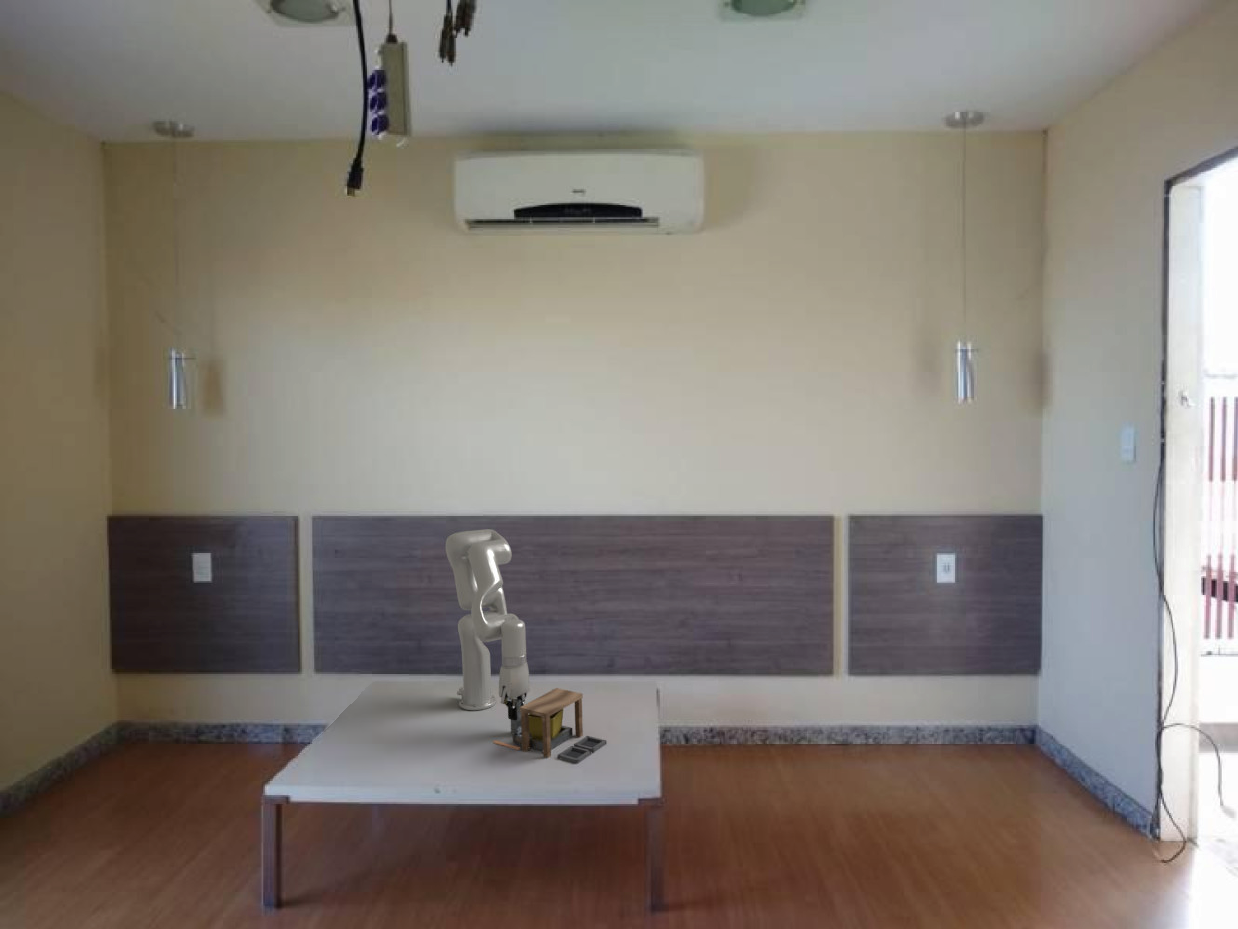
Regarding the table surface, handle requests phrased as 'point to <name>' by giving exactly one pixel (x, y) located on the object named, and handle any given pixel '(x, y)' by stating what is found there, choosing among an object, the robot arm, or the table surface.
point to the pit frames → (582, 749)
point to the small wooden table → (545, 709)
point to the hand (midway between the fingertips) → (516, 717)
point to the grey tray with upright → (534, 743)
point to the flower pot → (536, 725)
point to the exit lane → (507, 745)
